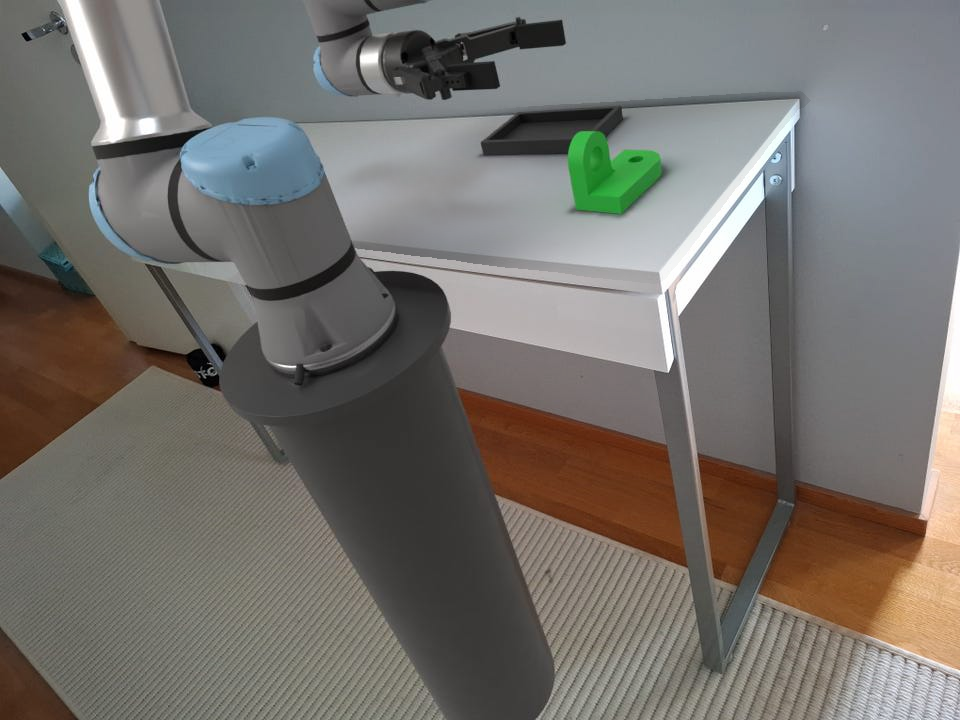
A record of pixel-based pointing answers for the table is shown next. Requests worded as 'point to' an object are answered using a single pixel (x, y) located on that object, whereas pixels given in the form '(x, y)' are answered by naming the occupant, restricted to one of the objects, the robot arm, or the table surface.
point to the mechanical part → (608, 173)
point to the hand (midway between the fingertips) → (530, 52)
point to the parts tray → (549, 130)
